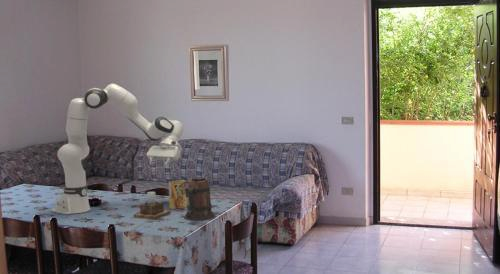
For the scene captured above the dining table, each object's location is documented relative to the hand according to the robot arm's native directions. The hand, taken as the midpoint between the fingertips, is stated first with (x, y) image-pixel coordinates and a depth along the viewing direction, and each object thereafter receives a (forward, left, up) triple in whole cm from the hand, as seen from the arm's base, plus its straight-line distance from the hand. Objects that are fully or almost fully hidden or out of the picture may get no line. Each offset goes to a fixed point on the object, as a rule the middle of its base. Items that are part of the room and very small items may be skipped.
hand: (157, 164), depth 307 cm
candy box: (+6, +9, -26) cm, 28 cm away
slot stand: (+3, -11, -26) cm, 28 cm away
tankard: (+30, -8, -26) cm, 40 cm away
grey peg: (+3, -11, -24) cm, 27 cm away
